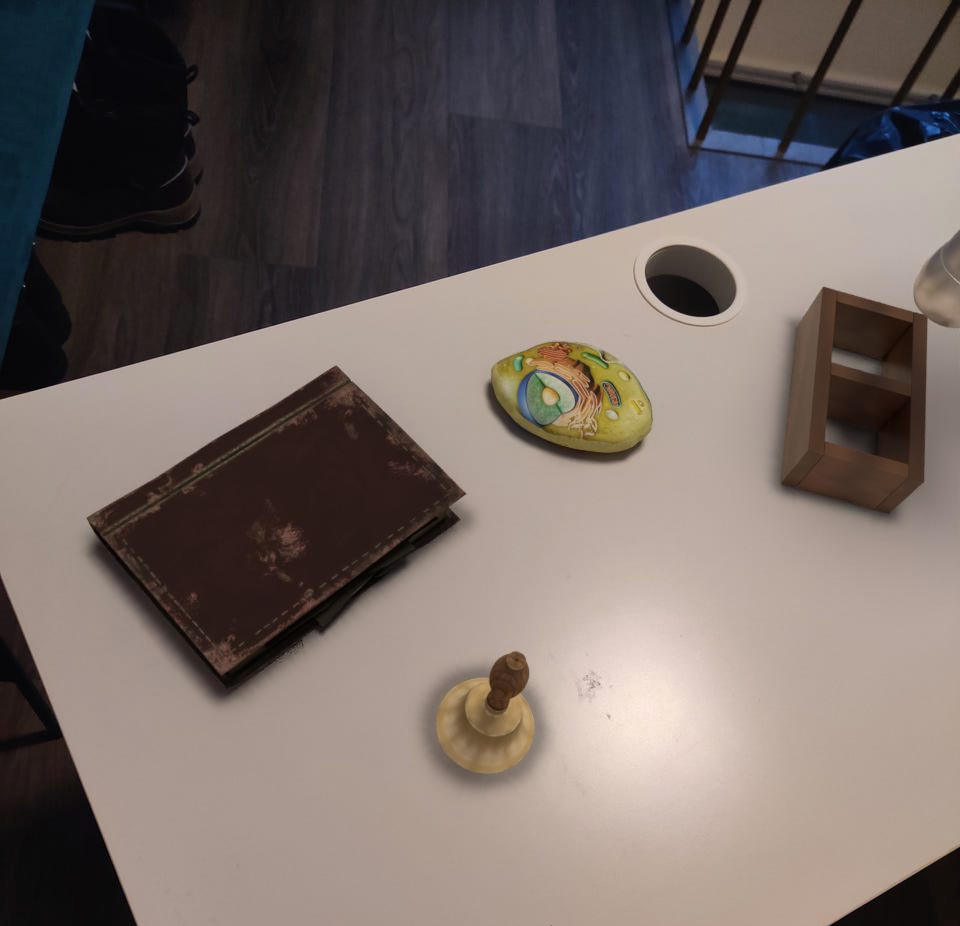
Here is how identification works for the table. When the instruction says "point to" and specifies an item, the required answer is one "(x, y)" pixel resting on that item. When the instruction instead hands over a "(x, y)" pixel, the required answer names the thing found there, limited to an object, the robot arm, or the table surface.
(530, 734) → the hand bell
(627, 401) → the cell model
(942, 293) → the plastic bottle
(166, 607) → the diary
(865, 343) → the shelf
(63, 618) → the table surface
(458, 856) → the table surface
